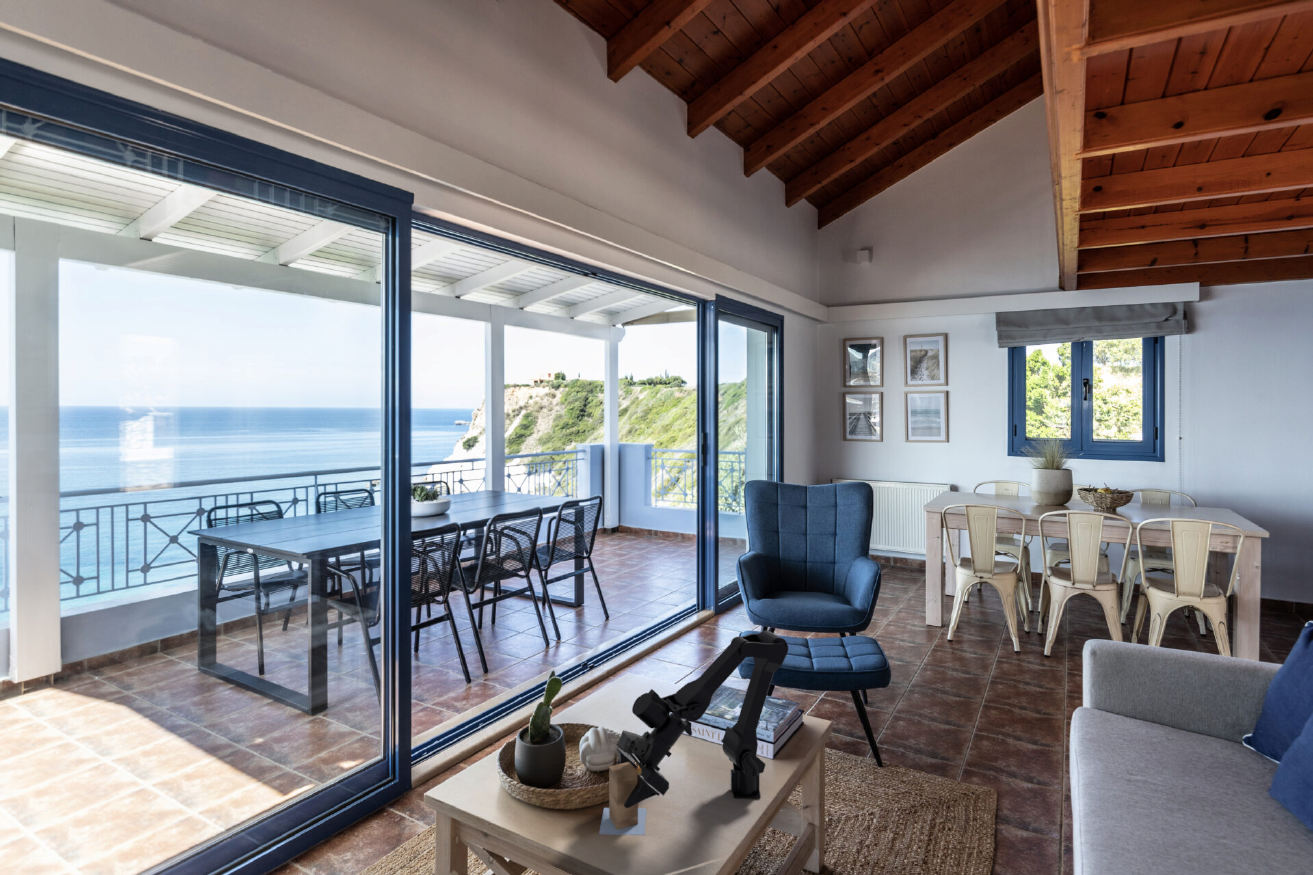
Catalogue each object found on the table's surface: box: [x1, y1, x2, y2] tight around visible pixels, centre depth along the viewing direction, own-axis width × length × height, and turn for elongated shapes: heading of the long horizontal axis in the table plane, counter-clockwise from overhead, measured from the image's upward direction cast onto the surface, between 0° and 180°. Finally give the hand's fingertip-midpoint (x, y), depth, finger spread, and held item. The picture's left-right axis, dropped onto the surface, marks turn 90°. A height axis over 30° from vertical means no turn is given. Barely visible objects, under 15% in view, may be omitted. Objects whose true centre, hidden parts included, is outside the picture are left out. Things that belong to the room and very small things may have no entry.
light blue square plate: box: [598, 807, 648, 836], centre depth 158 cm, size 10×10×1 cm
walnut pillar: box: [608, 762, 639, 830], centre depth 157 cm, size 5×5×12 cm
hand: (617, 796), depth 157 cm, fingers open, 9 cm apart
